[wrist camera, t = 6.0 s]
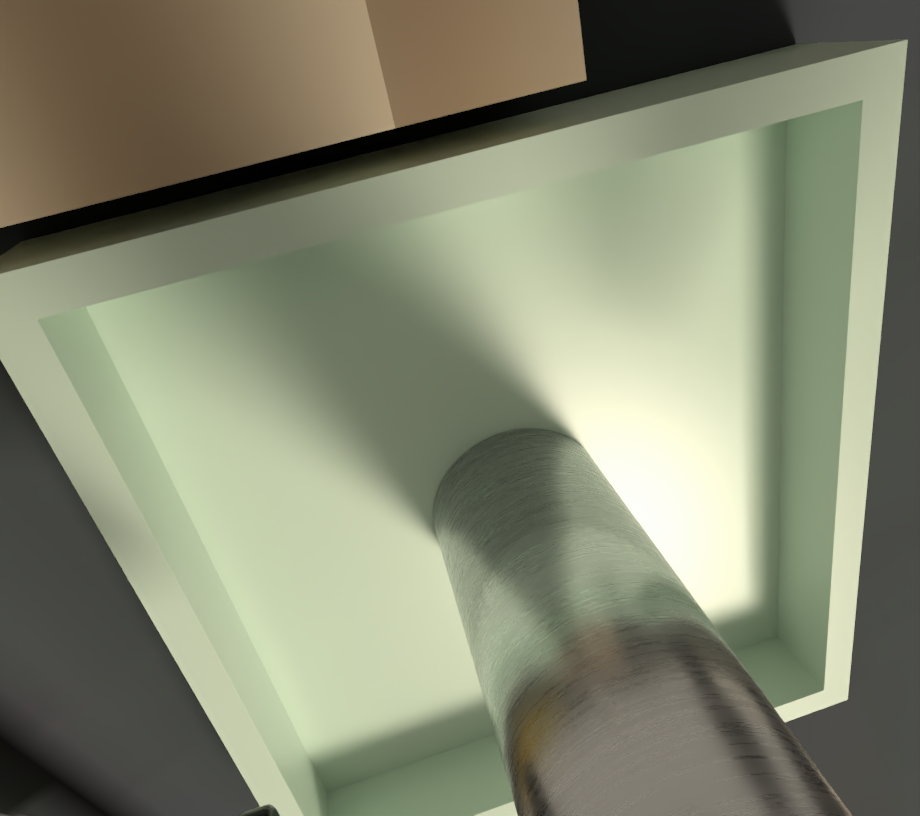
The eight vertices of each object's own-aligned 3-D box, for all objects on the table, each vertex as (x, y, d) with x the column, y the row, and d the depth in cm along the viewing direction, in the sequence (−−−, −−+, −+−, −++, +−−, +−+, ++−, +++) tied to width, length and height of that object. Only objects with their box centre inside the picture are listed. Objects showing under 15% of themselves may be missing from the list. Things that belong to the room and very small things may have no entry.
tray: (798, 43, 11) (907, 39, 9) (784, 627, 17) (847, 699, 15) (21, 241, 10) (-44, 284, 8) (307, 793, 16) (310, 892, 14)
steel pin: (609, 380, 12) (1246, 1050, 4) (628, 554, 14) (1085, 1243, 6) (385, 445, 12) (586, 1321, 4) (437, 613, 14) (643, 1430, 6)
